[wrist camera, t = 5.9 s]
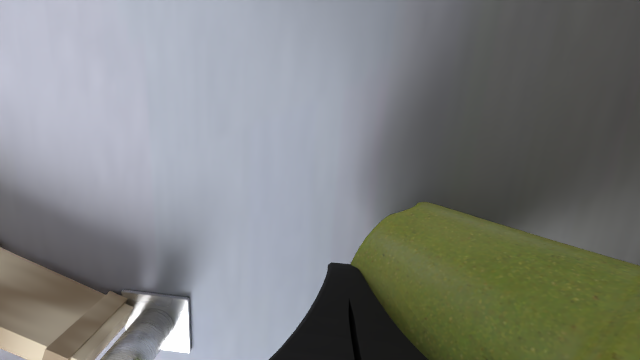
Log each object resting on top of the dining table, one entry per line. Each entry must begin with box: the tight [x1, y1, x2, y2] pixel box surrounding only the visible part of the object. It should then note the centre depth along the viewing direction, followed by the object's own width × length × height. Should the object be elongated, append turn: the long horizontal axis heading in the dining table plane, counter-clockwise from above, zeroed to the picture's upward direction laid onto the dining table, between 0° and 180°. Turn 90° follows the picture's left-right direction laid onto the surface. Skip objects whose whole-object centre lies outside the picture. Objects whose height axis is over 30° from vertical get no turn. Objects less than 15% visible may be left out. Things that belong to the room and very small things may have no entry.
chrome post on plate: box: [100, 290, 191, 360], centre depth 15 cm, size 4×4×4 cm
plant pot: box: [351, 202, 640, 360], centre depth 10 cm, size 9×9×9 cm
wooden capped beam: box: [0, 247, 133, 360], centre depth 15 cm, size 9×2×4 cm, turn 62°
